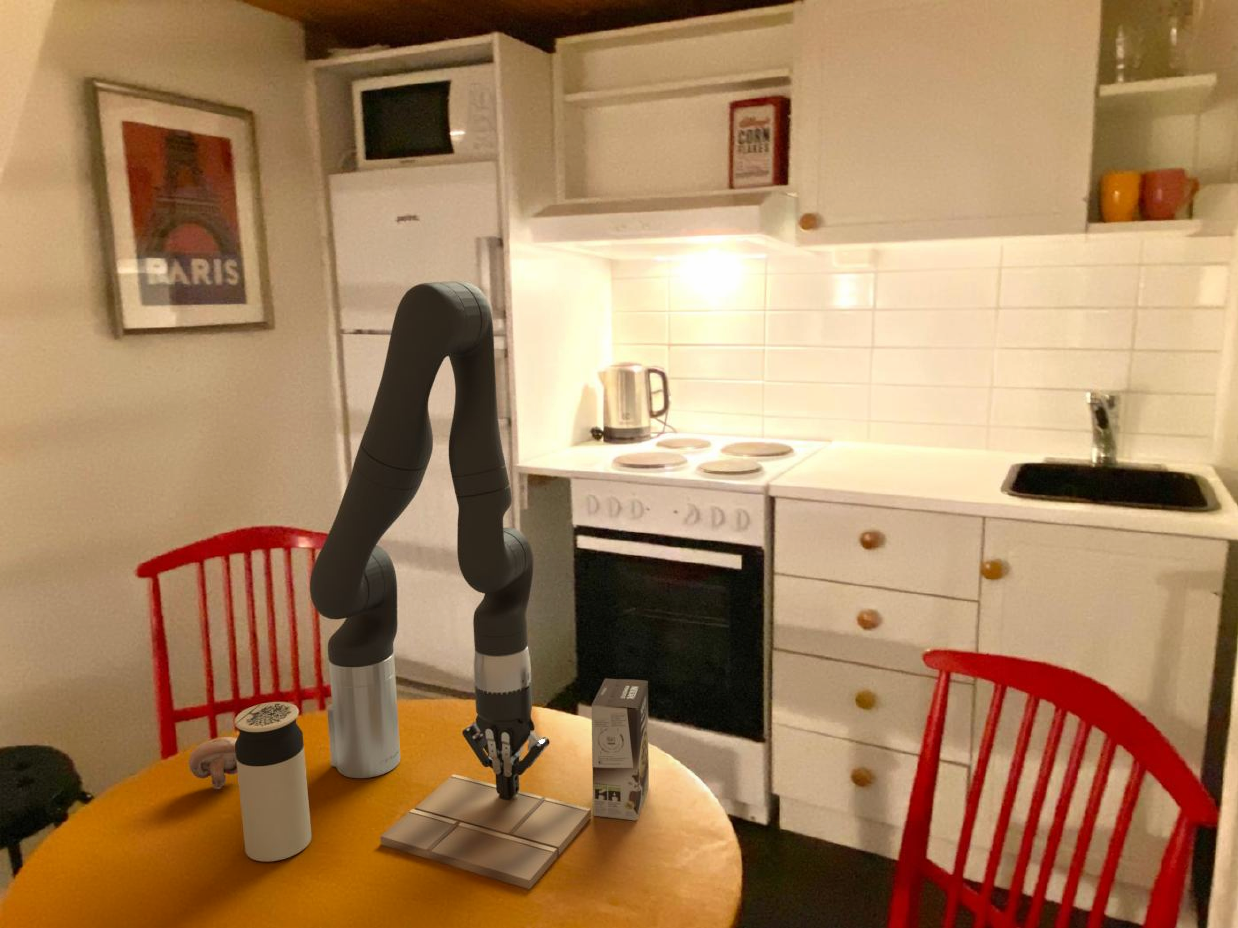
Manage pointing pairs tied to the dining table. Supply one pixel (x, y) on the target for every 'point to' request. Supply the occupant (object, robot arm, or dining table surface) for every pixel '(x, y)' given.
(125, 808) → the dining table surface
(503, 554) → the robot arm
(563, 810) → the board
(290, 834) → the travel mug
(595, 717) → the coffee box
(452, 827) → the laid plank
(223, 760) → the mushroom
